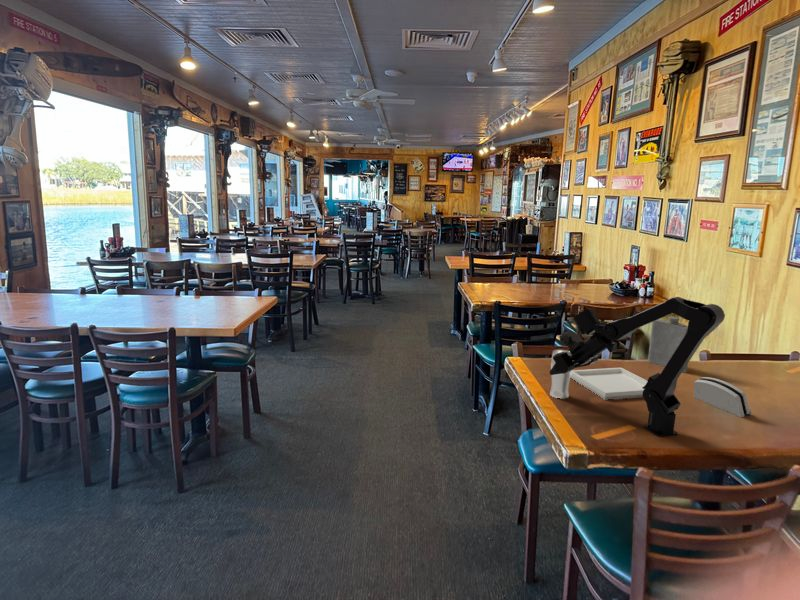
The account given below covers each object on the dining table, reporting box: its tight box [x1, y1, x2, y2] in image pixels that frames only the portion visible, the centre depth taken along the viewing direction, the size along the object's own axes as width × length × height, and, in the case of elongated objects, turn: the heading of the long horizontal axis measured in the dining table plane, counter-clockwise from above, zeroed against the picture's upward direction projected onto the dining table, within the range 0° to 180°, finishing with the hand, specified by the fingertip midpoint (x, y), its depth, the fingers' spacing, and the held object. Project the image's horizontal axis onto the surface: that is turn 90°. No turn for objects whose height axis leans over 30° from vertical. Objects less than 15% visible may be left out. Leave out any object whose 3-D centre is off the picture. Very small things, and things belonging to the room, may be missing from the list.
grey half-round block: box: [693, 376, 753, 418], centre depth 162 cm, size 17×5×10 cm, turn 21°
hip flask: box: [647, 316, 689, 374], centre depth 200 cm, size 16×4×20 cm, turn 29°
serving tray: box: [571, 367, 648, 401], centre depth 179 cm, size 22×22×2 cm
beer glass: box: [549, 349, 574, 400], centre depth 167 cm, size 7×7×15 cm
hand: (558, 370), depth 168 cm, fingers open, 9 cm apart
